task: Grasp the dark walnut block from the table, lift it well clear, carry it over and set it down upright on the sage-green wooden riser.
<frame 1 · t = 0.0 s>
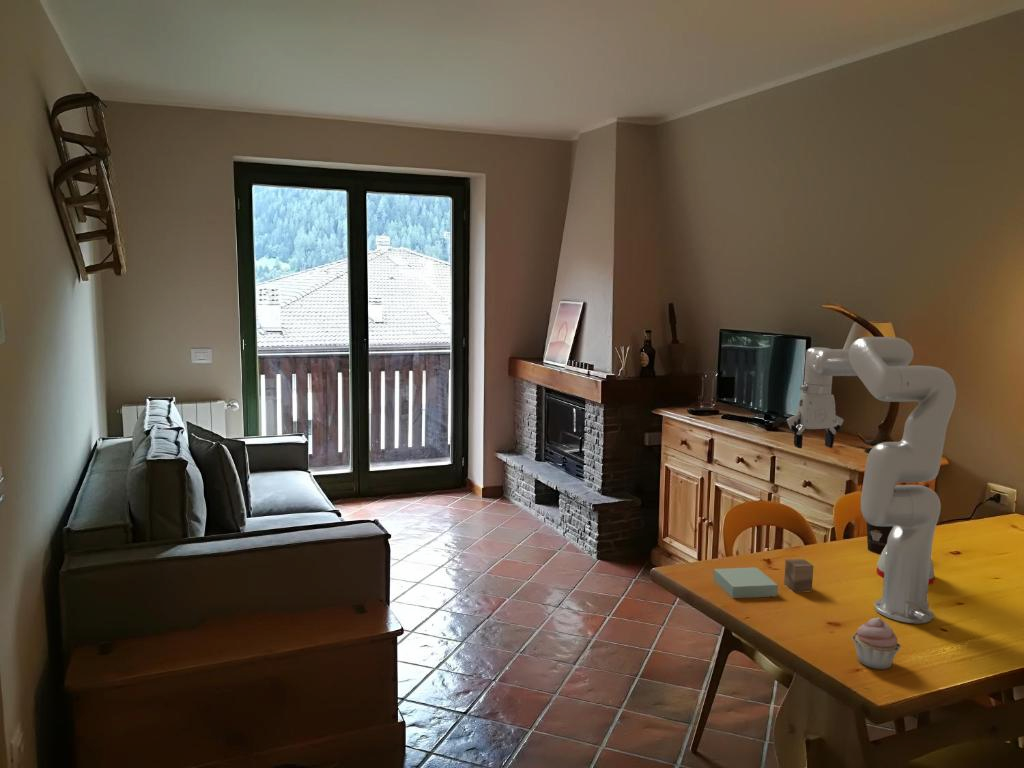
hand: (813, 447, 223), 31 cm above the table, tool pointing down, fingers open, 9 cm apart
kitchen timer: (904, 576, 206), on the table
cupcake: (874, 663, 158), on the table
walnut block: (797, 588, 197), on the table
coffee mug: (883, 552, 225), on the table
riser: (744, 587, 196), on the table
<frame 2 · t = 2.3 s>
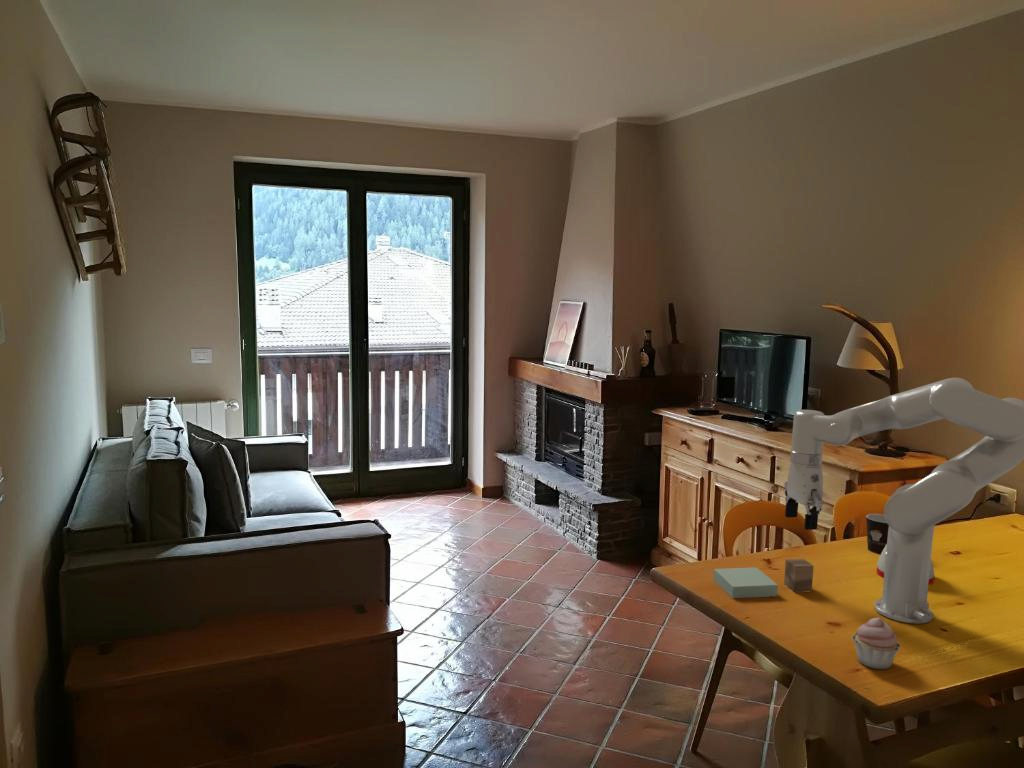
hand: (800, 523, 195), 17 cm above the table, tool pointing down, fingers open, 9 cm apart
nothing on the table moved.
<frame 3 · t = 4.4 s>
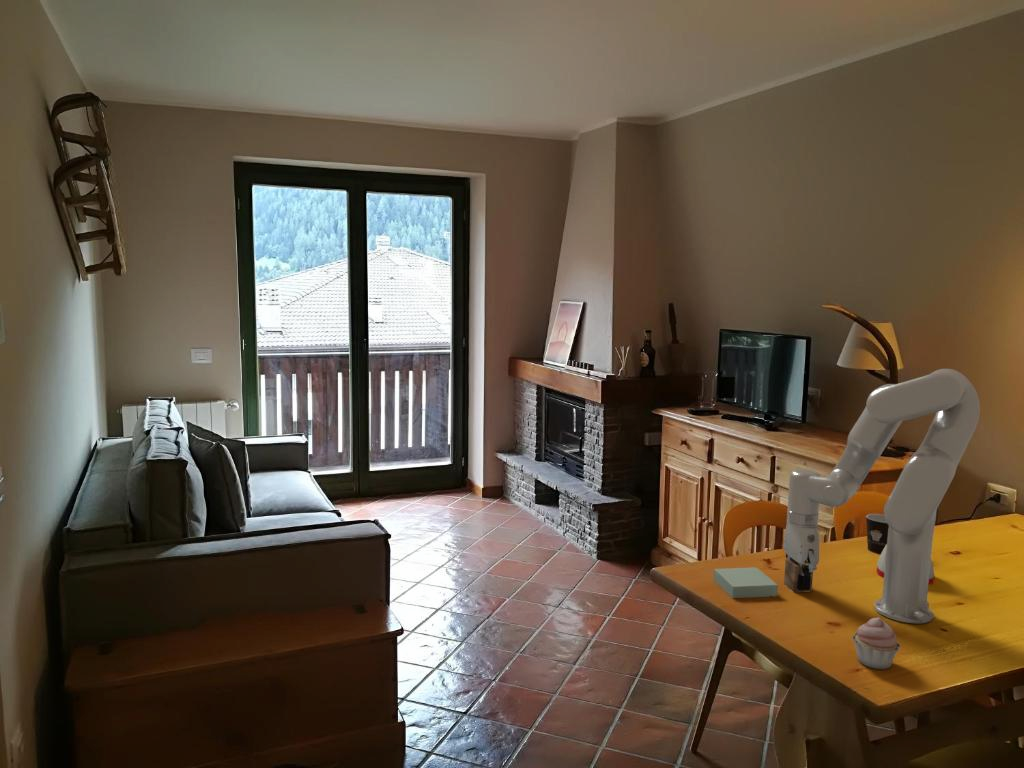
hand: (797, 584, 197), 1 cm above the table, tool pointing down, fingers closed on walnut block, 5 cm apart
walnut block: (797, 588, 197), on the table, touching gripper
everything else where it was.
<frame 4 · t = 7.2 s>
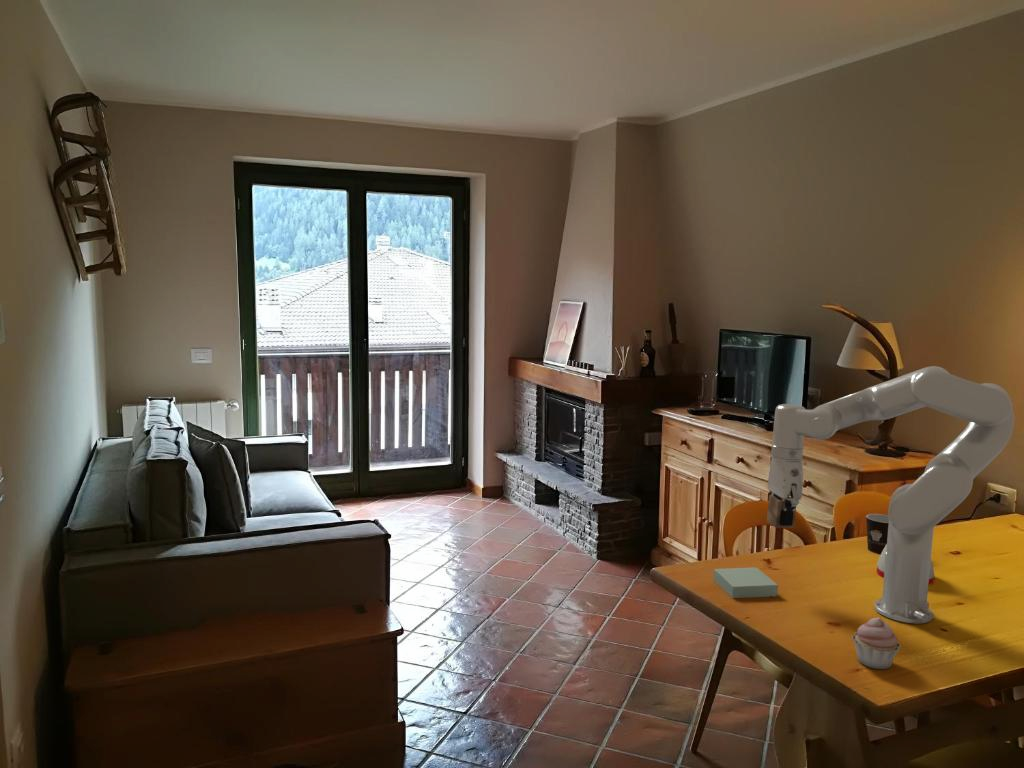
hand: (780, 520, 194), 18 cm above the table, tool pointing down, fingers closed on walnut block, 5 cm apart
walnut block: (780, 524, 195), point 17 cm above the table, touching gripper
everything else where it was.
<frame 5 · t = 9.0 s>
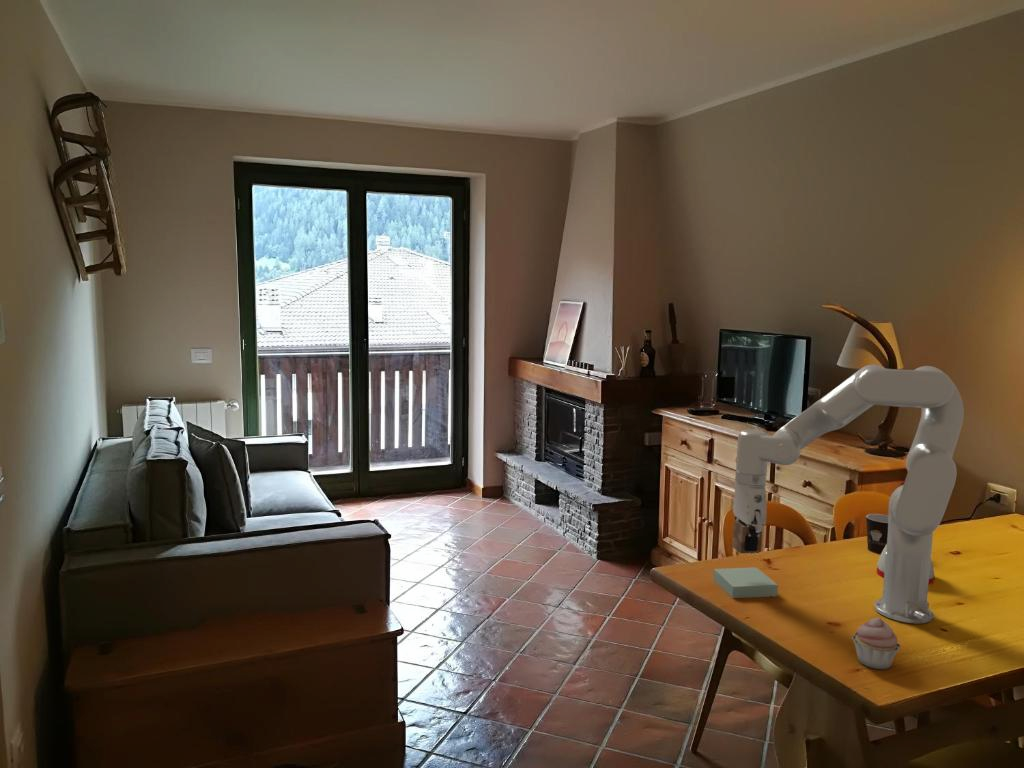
hand: (745, 546, 195), 11 cm above the table, tool pointing down, fingers closed on walnut block, 5 cm apart
walnut block: (745, 549, 195), point 10 cm above the table, touching gripper
everything else where it was.
when the fingers open (5 cm above the table, at t = 10.4 s): walnut block drops 1 cm, resting on riser.
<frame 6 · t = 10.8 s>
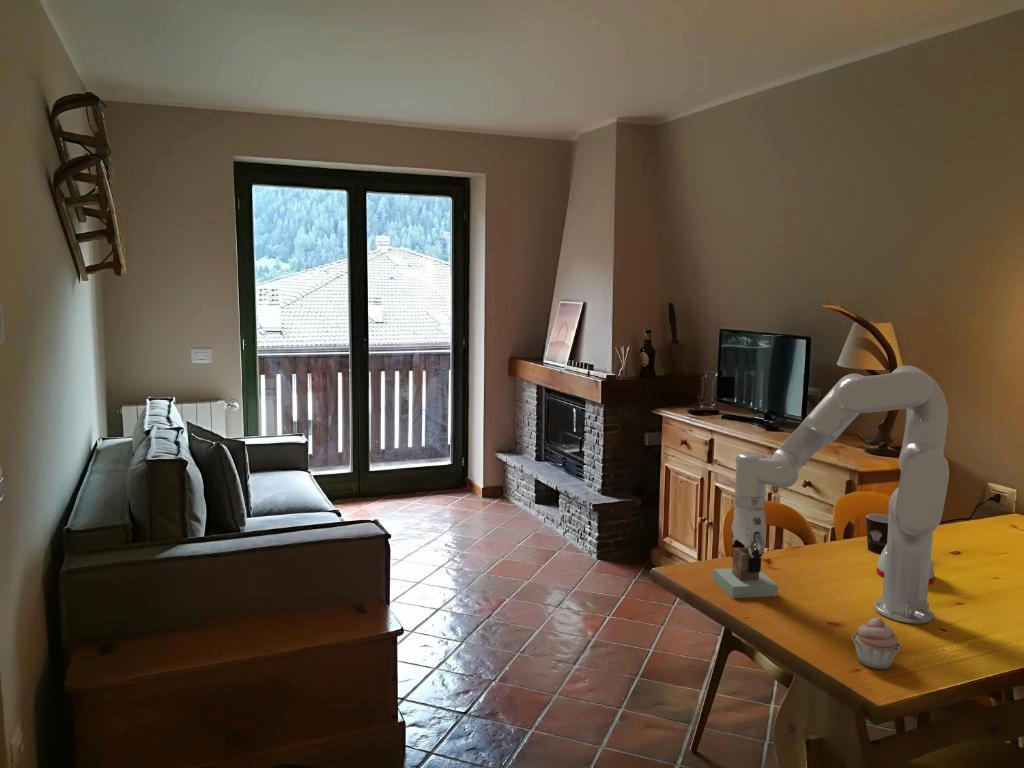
hand: (745, 564, 195), 6 cm above the table, tool pointing down, fingers open, 9 cm apart
walnut block: (745, 576, 196), point 3 cm above the table, touching riser
everything else where it was.
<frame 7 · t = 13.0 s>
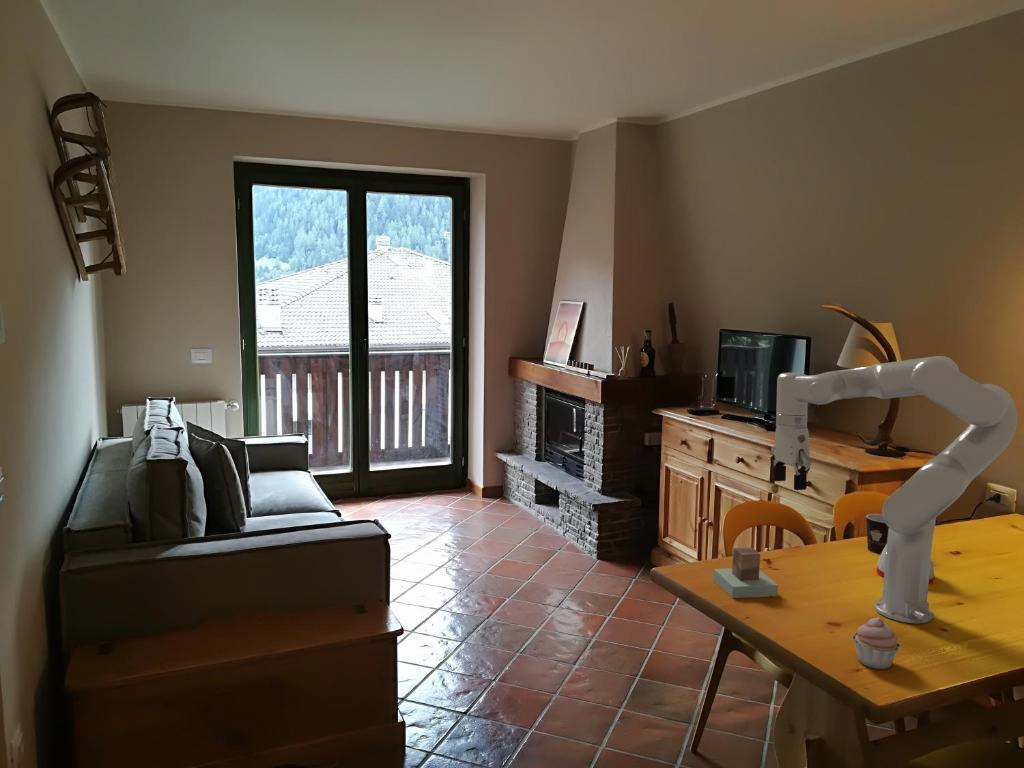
hand: (789, 485, 197), 27 cm above the table, tool pointing down, fingers open, 9 cm apart
nothing on the table moved.
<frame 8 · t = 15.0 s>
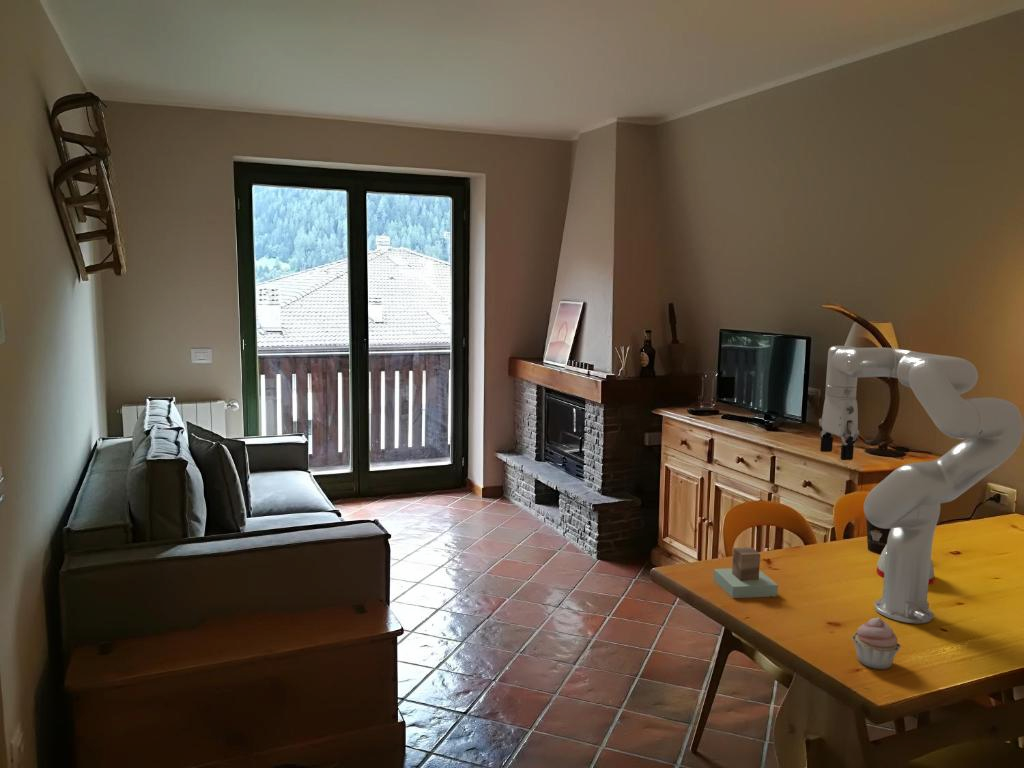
hand: (836, 455, 202), 33 cm above the table, tool pointing down, fingers open, 9 cm apart
nothing on the table moved.
at the end: walnut block inside the target area on the riser (0.0 cm from its centre), point 3.0 cm above the riser's base; walnut block tilted 0°; the gripper is holding nothing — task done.
